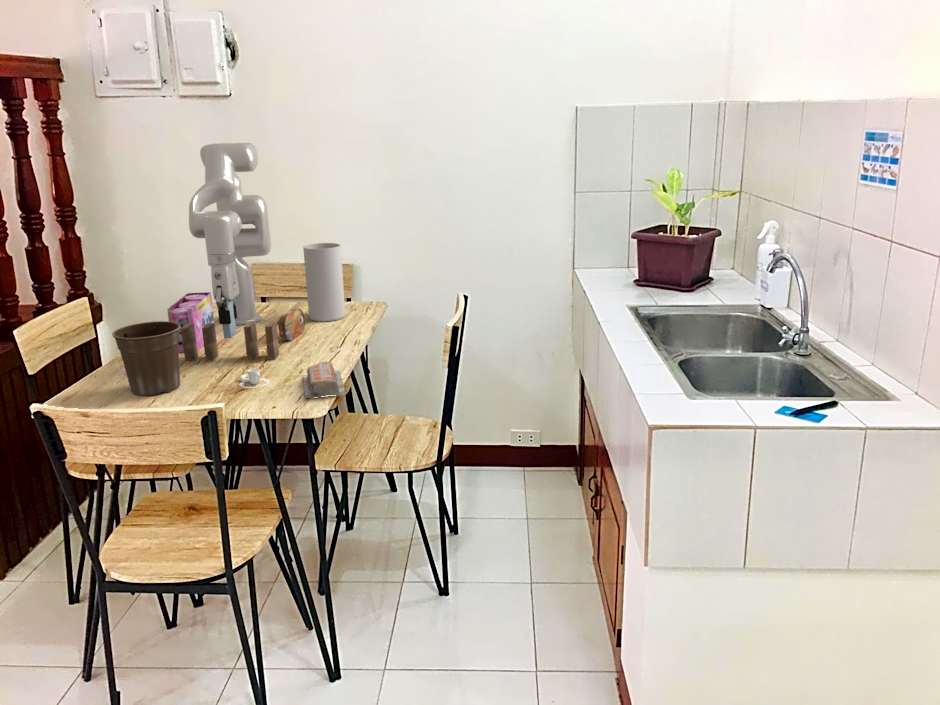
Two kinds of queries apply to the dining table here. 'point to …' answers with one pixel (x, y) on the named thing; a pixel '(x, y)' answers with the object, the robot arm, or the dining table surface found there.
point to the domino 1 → (189, 342)
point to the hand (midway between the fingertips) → (228, 320)
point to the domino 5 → (272, 340)
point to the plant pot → (150, 356)
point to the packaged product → (323, 381)
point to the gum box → (192, 314)
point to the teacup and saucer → (252, 378)
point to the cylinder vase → (324, 281)
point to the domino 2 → (210, 341)
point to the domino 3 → (230, 329)
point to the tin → (291, 324)
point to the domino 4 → (251, 340)
